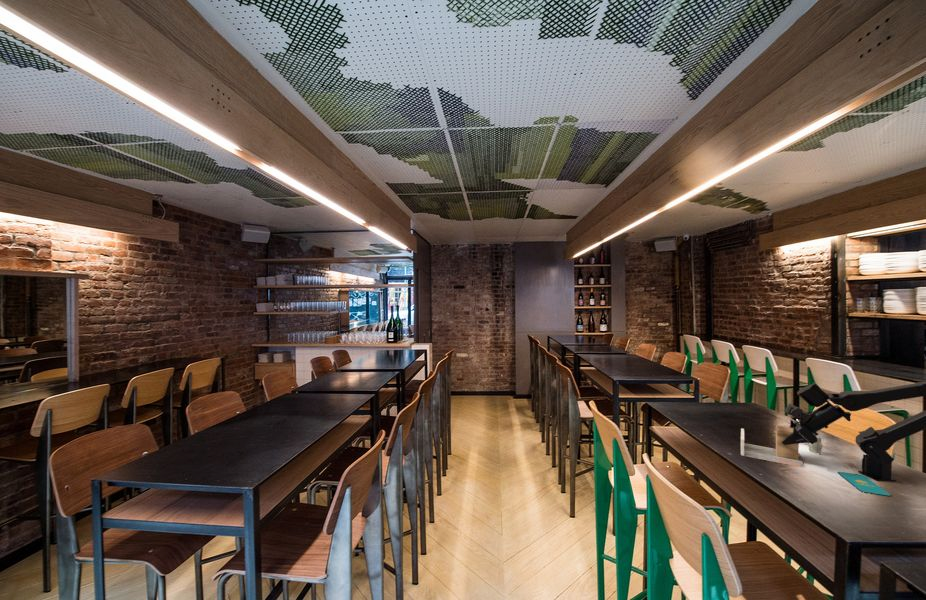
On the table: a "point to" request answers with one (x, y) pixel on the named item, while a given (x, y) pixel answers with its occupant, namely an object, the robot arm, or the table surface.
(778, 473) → the table surface
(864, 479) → the smartphone
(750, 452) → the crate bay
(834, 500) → the table surface
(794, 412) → the robot arm
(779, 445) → the tan wooden block
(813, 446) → the valve
